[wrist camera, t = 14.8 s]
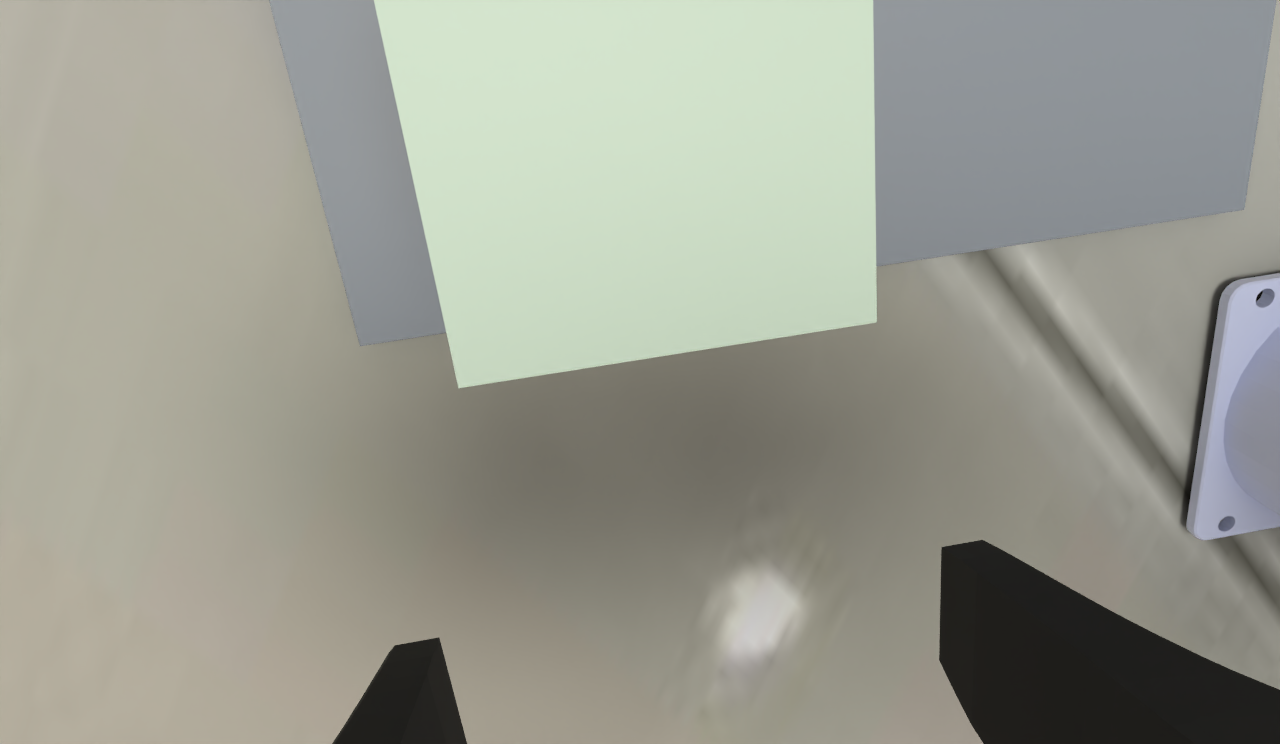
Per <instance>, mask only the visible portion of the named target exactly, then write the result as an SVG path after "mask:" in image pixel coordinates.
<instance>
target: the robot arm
mask: <svg viewBox="0 0 1280 744" xmlns="http://www.w3.org/2000/svg"><path fill="white" fill-rule="evenodd" d="M1262 290H1263V293H1262V295H1261V298H1260V299H1259V300H1258V301H1256V298H1257V295H1258V294H1259V293H1260V292H1261V291H1262ZM1223 518H1224V519H1223ZM1222 519H1223V520H1222ZM1221 520H1222V521H1221ZM1220 521H1221V522H1220ZM1186 524H1187V529H1188V531H1189V532H1190V533H1191V534H1192V535H1194V536H1195V537H1196V538H1198V539H1200V540H1211V539H1216V538H1221V537H1227V536H1232V535H1238V534H1243V533H1249V532H1254V531H1260V530H1265V529H1271V528H1276V527H1280V273H1276V274H1270V275H1263V276H1257V277H1251V278H1245V279H1239V280H1237V281H1234V282H1232V283H1231V284H1229V285H1228V286H1227V287H1226V288H1225V290H1224V291H1223V292H1222V295H1221V298H1220V301H1219V308H1218V315H1217V322H1216V328H1215V335H1214V342H1213V348H1212V355H1211V362H1210V369H1209V375H1208V382H1207V389H1206V395H1205V402H1204V409H1203V415H1202V422H1201V429H1200V436H1199V442H1198V449H1197V456H1196V462H1195V469H1194V476H1193V483H1192V489H1191V496H1190V503H1189V509H1188V516H1187V523H1186ZM939 660H940V662H941V664H942V666H943V669H944V671H945V673H946V675H947V677H948V679H949V681H950V683H951V685H952V687H953V689H954V691H955V693H956V696H957V697H958V699H959V701H960V703H961V705H962V707H963V709H964V711H965V713H966V715H967V717H968V719H969V721H970V723H971V725H972V726H973V728H974V729H975V731H976V732H977V734H978V735H979V737H980V739H981V740H982V742H983V743H984V744H1280V690H1278V689H1276V688H1274V687H1271V686H1269V685H1266V684H1264V683H1262V682H1259V681H1257V680H1254V679H1252V678H1249V677H1247V676H1245V675H1242V674H1240V673H1237V672H1235V671H1233V670H1230V669H1228V668H1226V667H1224V666H1221V665H1219V664H1217V663H1215V662H1213V661H1210V660H1208V659H1206V658H1204V657H1202V656H1200V655H1198V654H1195V653H1193V652H1191V651H1189V650H1187V649H1185V648H1183V647H1181V646H1179V645H1177V644H1175V643H1173V642H1171V641H1169V640H1167V639H1165V638H1162V637H1160V636H1158V635H1156V634H1154V633H1152V632H1150V631H1148V630H1147V629H1145V628H1143V627H1141V626H1139V625H1137V624H1135V623H1133V622H1131V621H1129V620H1127V619H1125V618H1123V617H1121V616H1120V615H1118V614H1116V613H1114V612H1112V611H1110V610H1108V609H1107V608H1105V607H1103V606H1101V605H1099V604H1097V603H1096V602H1094V601H1092V600H1090V599H1088V598H1086V597H1085V596H1083V595H1081V594H1079V593H1077V592H1076V591H1074V590H1072V589H1070V588H1068V587H1067V586H1065V585H1063V584H1061V583H1060V582H1058V581H1056V580H1054V579H1053V578H1051V577H1049V576H1047V575H1045V574H1044V573H1042V572H1040V571H1038V570H1037V569H1035V568H1033V567H1031V566H1030V565H1028V564H1026V563H1024V562H1022V561H1021V560H1019V559H1017V558H1015V557H1014V556H1012V555H1010V554H1008V553H1006V552H1005V551H1003V550H1001V549H999V548H997V547H995V546H993V545H991V544H989V543H987V542H985V541H983V540H980V541H974V542H968V543H963V544H957V545H952V546H946V547H942V554H941V604H940V655H939ZM332 744H467V742H466V738H465V734H464V731H463V727H462V723H461V719H460V715H459V712H458V708H457V704H456V700H455V696H454V692H453V689H452V685H451V681H450V677H449V673H448V670H447V666H446V662H445V658H444V654H443V650H442V647H441V643H440V639H439V638H434V639H429V640H423V641H418V642H412V643H406V644H401V645H395V646H394V647H393V649H392V650H391V651H390V652H389V654H388V655H387V657H386V659H385V660H384V662H383V663H382V665H381V667H380V668H379V670H378V672H377V673H376V675H375V677H374V678H373V680H372V682H371V683H370V685H369V687H368V688H367V690H366V692H365V693H364V695H363V697H362V698H361V700H360V701H359V703H358V705H357V706H356V708H355V709H354V711H353V713H352V714H351V716H350V717H349V719H348V721H347V722H346V724H345V725H344V727H343V728H342V730H341V731H340V733H339V734H338V736H337V737H336V739H335V740H334V742H333V743H332Z"/></svg>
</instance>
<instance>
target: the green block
mask: <svg viewBox="0 0 1280 744" xmlns="http://www.w3.org/2000/svg"><path fill="white" fill-rule="evenodd" d="M374 4H375V8H376V13H377V17H378V22H379V26H380V31H381V36H382V40H383V45H384V49H385V54H386V58H387V63H388V68H389V72H390V77H391V81H392V86H393V91H394V95H395V100H396V104H397V109H398V113H399V118H400V123H401V127H402V132H403V136H404V141H405V146H406V150H407V155H408V159H409V164H410V168H411V173H412V178H413V182H414V187H415V191H416V196H417V200H418V205H419V210H420V214H421V219H422V223H423V228H424V233H425V237H426V242H427V246H428V251H429V255H430V260H431V265H432V269H433V274H434V278H435V283H436V288H437V292H438V297H439V301H440V306H441V310H442V315H443V320H444V324H445V329H446V333H447V338H448V343H449V347H450V352H451V356H452V361H453V365H454V370H455V375H456V379H457V384H458V388H464V387H470V386H476V385H483V384H489V383H495V382H502V381H508V380H514V379H521V378H527V377H533V376H540V375H546V374H552V373H559V372H565V371H572V370H578V369H584V368H591V367H597V366H603V365H610V364H616V363H622V362H629V361H635V360H641V359H648V358H654V357H660V356H667V355H673V354H679V353H686V352H692V351H698V350H705V349H711V348H717V347H724V346H730V345H736V344H743V343H749V342H756V341H762V340H768V339H775V338H781V337H787V336H794V335H800V334H806V333H813V332H819V331H825V330H832V329H838V328H844V327H851V326H857V325H863V324H870V323H876V322H877V287H876V201H875V115H874V29H873V0H374Z"/></svg>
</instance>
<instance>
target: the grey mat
mask: <svg viewBox="0 0 1280 744" xmlns="http://www.w3.org/2000/svg"><path fill="white" fill-rule="evenodd" d="M269 2H270V6H271V10H272V13H273V17H274V21H275V25H276V29H277V32H278V36H279V40H280V44H281V48H282V51H283V55H284V59H285V63H286V67H287V70H288V74H289V78H290V82H291V86H292V89H293V93H294V97H295V101H296V105H297V108H298V112H299V116H300V120H301V124H302V127H303V131H304V135H305V139H306V143H307V146H308V150H309V154H310V158H311V162H312V165H313V169H314V173H315V177H316V181H317V184H318V188H319V192H320V196H321V200H322V203H323V207H324V211H325V215H326V219H327V222H328V226H329V230H330V234H331V238H332V241H333V245H334V249H335V253H336V257H337V260H338V264H339V268H340V272H341V276H342V279H343V283H344V287H345V291H346V295H347V298H348V302H349V306H350V310H351V314H352V317H353V321H354V325H355V329H356V333H357V336H358V340H359V344H360V346H364V345H371V344H377V343H384V342H390V341H397V340H403V339H410V338H416V337H422V336H429V335H435V334H442V333H446V329H445V324H444V320H443V315H442V310H441V306H440V301H439V297H438V292H437V288H436V283H435V278H434V274H433V269H432V265H431V260H430V255H429V251H428V246H427V242H426V237H425V233H424V228H423V223H422V219H421V214H420V210H419V205H418V200H417V196H416V191H415V187H414V182H413V178H412V173H411V168H410V164H409V159H408V155H407V150H406V146H405V141H404V136H403V132H402V127H401V123H400V118H399V113H398V109H397V104H396V100H395V95H394V91H393V86H392V81H391V77H390V72H389V68H388V63H387V58H386V54H385V49H384V45H383V40H382V36H381V31H380V26H379V22H378V17H377V13H376V8H375V4H374V0H269ZM1275 6H1276V0H873V29H874V115H875V201H876V266H883V265H889V264H896V263H902V262H909V261H915V260H922V259H928V258H935V257H941V256H947V255H954V254H960V253H967V252H973V251H980V250H986V249H993V248H999V247H1006V246H1012V245H1019V244H1025V243H1032V242H1038V241H1045V240H1051V239H1058V238H1064V237H1071V236H1077V235H1084V234H1090V233H1097V232H1103V231H1110V230H1116V229H1122V228H1129V227H1135V226H1142V225H1148V224H1155V223H1161V222H1168V221H1174V220H1181V219H1187V218H1194V217H1200V216H1207V215H1213V214H1220V213H1226V212H1233V211H1239V210H1244V208H1245V201H1246V195H1247V188H1248V182H1249V175H1250V169H1251V162H1252V156H1253V149H1254V143H1255V136H1256V130H1257V123H1258V117H1259V110H1260V104H1261V97H1262V91H1263V84H1264V78H1265V71H1266V65H1267V58H1268V52H1269V45H1270V39H1271V32H1272V26H1273V19H1274V13H1275Z"/></svg>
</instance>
